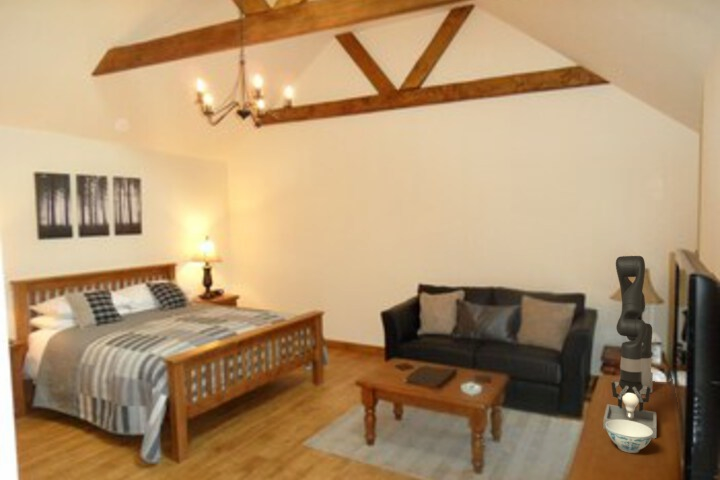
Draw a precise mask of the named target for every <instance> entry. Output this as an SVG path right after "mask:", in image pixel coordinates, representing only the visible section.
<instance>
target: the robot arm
mask: <svg viewBox="0 0 720 480" xmlns="http://www.w3.org/2000/svg"><path fill="white" fill-rule="evenodd" d="M615 269H616V274H617V278H618V282H619V286H620V295H621V313H620V316H619V318H618V320H617V324H616V332H617V333H618V335H619V336H622V337H626V338H627V340H629V341H624V342H622V343H621V345H620V346H621V349H620V351H621V352H620V353H621V354H620V357H621V358H620V365H619V367H620V368H619V369H620V372H619V373H620V375H619V377H620V379H619V381H615V380H611V390H612V397H614V398H616V399H617V406H618V407H620V408H621V409H622V407H623V401H622V397H623V395H624V394H625V393H633V394H636V396H637V398H638V399H639V401H640V402H639V404H638V406H639V407H638V409H639V412H641V410H642V411H643V410H644V403H649V400H650V396H651V395H650V394H651V393H653V381H654V379H653V377H654V375H653V372H652V341H653V340H652V339H653V327H652V324H650V323H646V322H645V321H644V320H643V319H637V318H639V317H641V315H642V313H643V312H644V311H645V308H646V300H645V294H644V292H643V290H644V282H645V276H646V263H645V258H643V256H641V255H627V256H626V255H623V256H618V257H617V258H616V260H615ZM630 278H634V281H633V282H632V281H631V280H630ZM618 386H619V387H620V388H621V391H619V393H617V388H618ZM642 395H645V397H643V396H642Z"/></svg>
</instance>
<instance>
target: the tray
mask: <svg viewBox="0 0 720 480" xmlns="http://www.w3.org/2000/svg"><path fill="white" fill-rule="evenodd" d="M603 415H604V416H603V421H602V423H603V427H602V428H603V429H604V430H606V422H607V421H610V420H629V421H634V422H638V423H641V424H643V425H646V426H647V427H649V428H650V429H651V430H652V431H653V435H652V438H651V439H655V438H656V439H657V412H656V411H651V410H645V409H643V411H642V410H641V412H639V408H635V411H634V417H633V418H628V417H627V416H626V407H625V406H622V409H621V408H620V407H618V405H614V404H610V403H609V404H608V403H607V404H606V407H605V411H604V414H603Z"/></svg>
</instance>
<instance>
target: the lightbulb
mask: <svg viewBox="0 0 720 480" xmlns="http://www.w3.org/2000/svg"><path fill="white" fill-rule="evenodd" d="M639 402H640V401H639V399H638V398H637V396H636V394H633V393H625V394H624V395H623V397H622V404H624V407H626V416H627V417H628V418H633V417H634V411H635V409H637V408H636V407H638V406H639Z"/></svg>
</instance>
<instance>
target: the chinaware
mask: <svg viewBox="0 0 720 480" xmlns="http://www.w3.org/2000/svg"><path fill="white" fill-rule="evenodd" d="M605 430H606V433H607V435H608V436H609V438H610V439H611V441H612V442H613V443H614V444H615V445H616V446H617V448H618V449H619V450H621V451H622V452H625V453H630V454H637V453H639V452H640V450H642V449H644V448H646V446H648V445H649V443H651V440H652V439H653V438H652V435H653V431H652V430H651V429H650V428H649V427H647V426H646V425H643V424H641V423H638V422H634V421H629V420H610V421H607V422H606V429H605Z"/></svg>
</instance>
